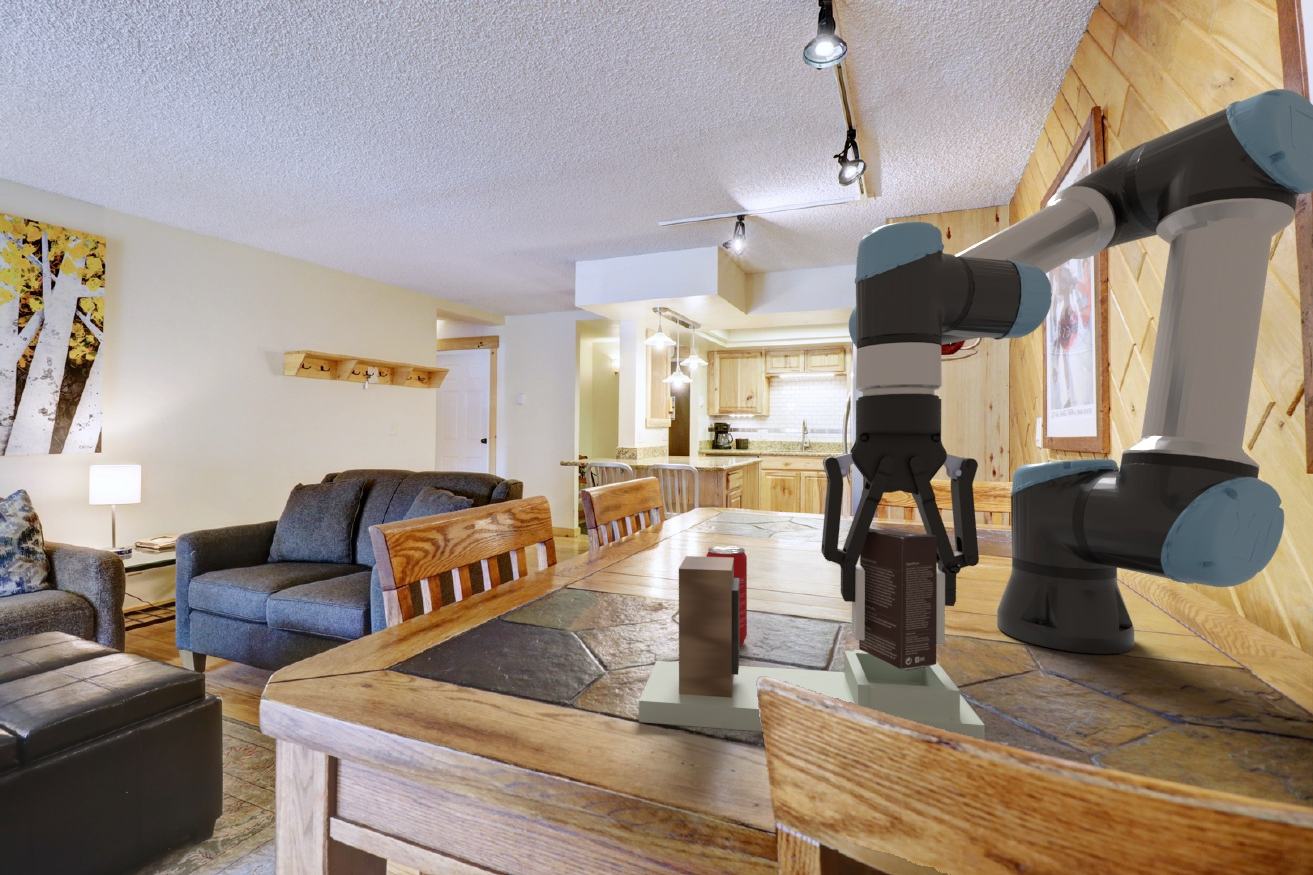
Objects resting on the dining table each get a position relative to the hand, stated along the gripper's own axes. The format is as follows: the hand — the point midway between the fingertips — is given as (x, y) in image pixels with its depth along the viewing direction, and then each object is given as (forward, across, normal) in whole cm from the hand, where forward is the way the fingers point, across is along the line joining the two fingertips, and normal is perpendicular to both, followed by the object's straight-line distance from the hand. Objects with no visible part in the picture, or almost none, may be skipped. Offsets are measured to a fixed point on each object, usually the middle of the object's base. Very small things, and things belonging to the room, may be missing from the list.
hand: (896, 636), depth 58 cm
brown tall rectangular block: (+6, +18, 0) cm, 18 cm away
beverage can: (+8, +17, -18) cm, 26 cm away
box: (+2, 0, 0) cm, 2 cm away
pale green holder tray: (+8, +9, 0) cm, 12 cm away
